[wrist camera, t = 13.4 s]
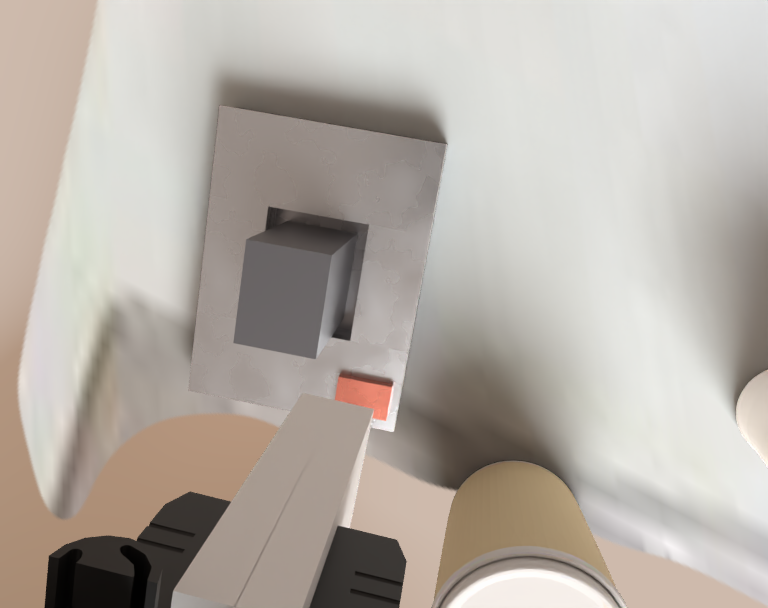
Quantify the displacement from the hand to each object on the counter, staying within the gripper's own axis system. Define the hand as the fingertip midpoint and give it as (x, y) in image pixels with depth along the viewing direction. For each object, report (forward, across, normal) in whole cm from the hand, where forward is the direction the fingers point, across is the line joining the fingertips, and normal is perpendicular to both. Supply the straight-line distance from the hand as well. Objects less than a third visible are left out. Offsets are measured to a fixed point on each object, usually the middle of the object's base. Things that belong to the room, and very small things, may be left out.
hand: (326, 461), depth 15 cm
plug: (+26, -6, -2) cm, 27 cm away
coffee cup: (+27, +9, -15) cm, 32 cm away
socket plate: (+27, -6, -2) cm, 27 cm away
